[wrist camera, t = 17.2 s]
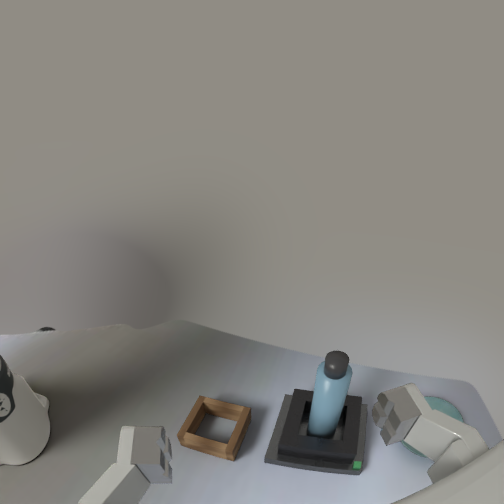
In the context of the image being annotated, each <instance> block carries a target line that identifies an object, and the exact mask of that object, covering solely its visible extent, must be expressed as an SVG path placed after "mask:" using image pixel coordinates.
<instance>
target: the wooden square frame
mask: <svg viewBox="0 0 504 504" xmlns="http://www.w3.org/2000/svg"><path fill="white" fill-rule="evenodd" d="M206 413H207V414H211V415H215V416H218V417H222V418H226V419H230V420H234V421H238V422H237V424H236V426H235V429H234V431H233V433H232V435H231V438H230V440H229V442H228V444H225V443H221V442H217V441H214V440H210V439H207V438H204V437H200V436H197V435H194V434H195V433H196V431H197V429H198V427H199V425H200V423H201V421H202V419H203V418H204V416H205V414H206ZM250 421H251V408H248V407H244V406H239V405H235V404H231V403H227V402H223V401H219V400H215V399H211V398H207V397H203V396H199V398H198V399H197V401H196V403H195V405H194V406H193V408H192V410H191V412H190V413H189V415H188V417H187V419H186V420H185V422H184V424H183V425H182V427H181V429H180V431H179V432H178V434H177V437H178V439H179V441H180V444H181V445H182V446H185V447H188V448H191V449H194V450H197V451H200V452H203V453H206V454H210V455H213V456H216V457H220V458H223V459H227V460H231V461H234V460H235V458H236V455H237V453H238V451H239V448H240V446H241V443H242V441H243V439H244V436H245V434H246V431H247V429H248V426H249V424H250Z"/></svg>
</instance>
